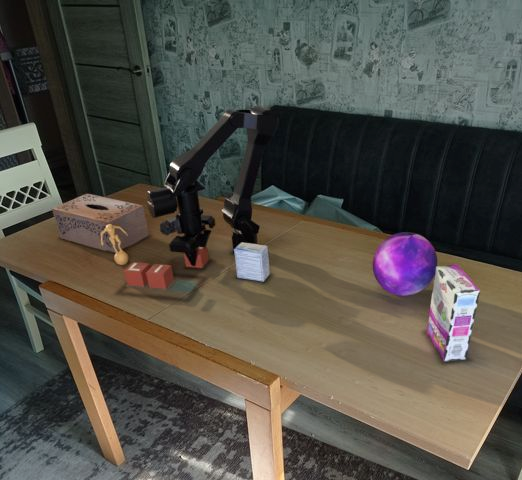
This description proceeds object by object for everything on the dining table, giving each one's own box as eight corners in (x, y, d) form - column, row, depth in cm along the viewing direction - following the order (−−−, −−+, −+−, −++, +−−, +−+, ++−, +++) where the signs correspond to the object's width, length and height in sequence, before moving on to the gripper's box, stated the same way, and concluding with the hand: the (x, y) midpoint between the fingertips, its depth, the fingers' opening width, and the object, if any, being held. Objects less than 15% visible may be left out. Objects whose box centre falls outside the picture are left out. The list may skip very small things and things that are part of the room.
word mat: (204, 277, 145) (204, 276, 145) (187, 300, 136) (187, 298, 135) (139, 271, 150) (139, 270, 150) (118, 293, 141) (117, 291, 141)
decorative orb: (431, 310, 124) (440, 251, 116) (367, 304, 129) (370, 247, 120) (434, 279, 136) (442, 223, 127) (375, 274, 140) (378, 220, 131)
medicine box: (270, 274, 144) (268, 245, 139) (263, 282, 141) (261, 252, 135) (244, 270, 147) (241, 241, 142) (236, 278, 143) (233, 248, 138)
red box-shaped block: (174, 280, 144) (171, 264, 141) (166, 289, 140) (163, 273, 138) (157, 278, 145) (154, 263, 143) (149, 287, 142) (145, 272, 139)
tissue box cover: (149, 235, 170) (142, 205, 164) (115, 253, 161) (108, 222, 155) (94, 221, 183) (86, 193, 177) (60, 238, 173) (51, 208, 167)
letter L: (152, 278, 146) (149, 263, 143) (144, 287, 142) (140, 271, 139) (136, 276, 147) (132, 261, 144) (127, 285, 143) (123, 270, 141)
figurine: (113, 271, 152) (103, 232, 145) (103, 265, 155) (93, 226, 148) (138, 261, 156) (130, 222, 149) (128, 255, 160) (119, 217, 152)
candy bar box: (467, 360, 109) (481, 290, 99) (443, 362, 109) (455, 293, 99) (447, 329, 118) (458, 262, 108) (425, 332, 118) (434, 265, 108)
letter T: (209, 261, 153) (207, 246, 150) (202, 269, 149) (200, 254, 146) (193, 259, 154) (190, 245, 151) (186, 268, 150) (183, 253, 148)
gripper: (176, 194, 151) (184, 245, 160) (146, 220, 137) (157, 274, 146) (212, 196, 148) (219, 247, 157) (185, 223, 134) (194, 278, 143)
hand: (197, 261), depth 151 cm, fingers closed on letter T, 5 cm apart
